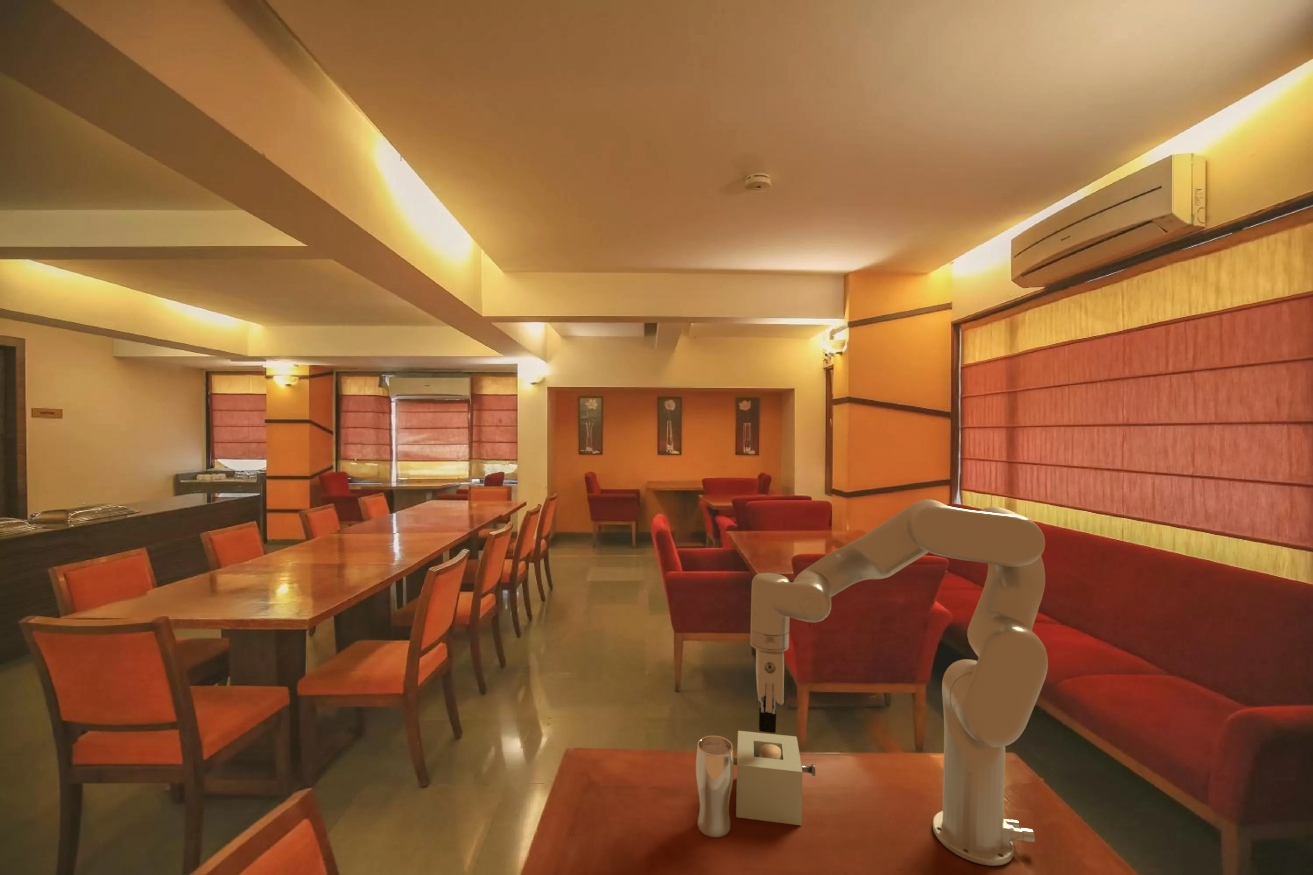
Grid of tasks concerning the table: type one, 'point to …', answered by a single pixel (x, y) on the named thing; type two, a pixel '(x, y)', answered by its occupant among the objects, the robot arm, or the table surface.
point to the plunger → (809, 769)
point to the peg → (770, 751)
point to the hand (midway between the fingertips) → (767, 729)
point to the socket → (769, 779)
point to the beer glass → (714, 784)
